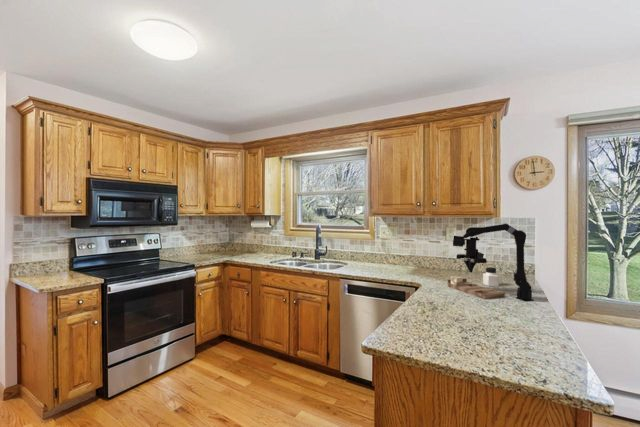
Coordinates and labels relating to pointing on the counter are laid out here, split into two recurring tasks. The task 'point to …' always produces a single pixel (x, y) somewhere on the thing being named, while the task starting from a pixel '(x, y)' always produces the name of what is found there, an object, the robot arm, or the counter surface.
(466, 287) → the trap deck
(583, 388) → the counter surface
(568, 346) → the counter surface
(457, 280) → the maple cube
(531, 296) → the robot arm
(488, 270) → the medicine bottle
